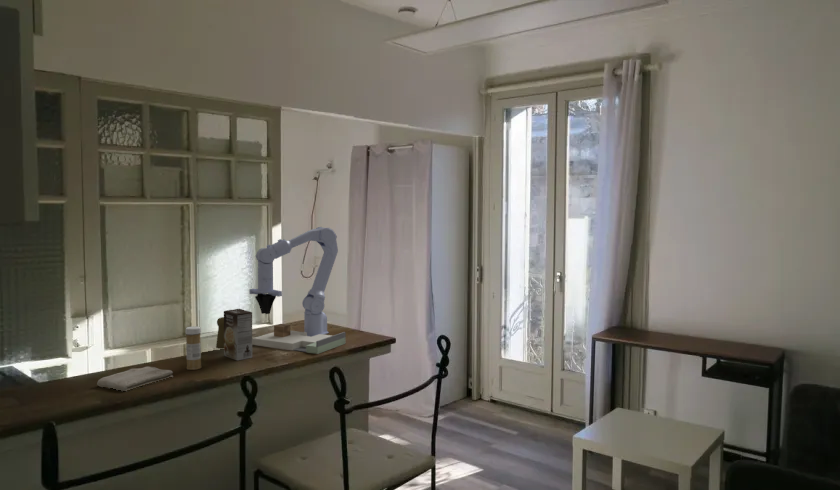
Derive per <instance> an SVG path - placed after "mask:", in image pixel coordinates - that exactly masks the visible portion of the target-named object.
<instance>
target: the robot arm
mask: <svg viewBox="0 0 840 490" xmlns="http://www.w3.org/2000/svg"><path fill="white" fill-rule="evenodd" d="M337 238H338V236H337V234H336V233H335V231H334V229H332V228H330V227H322V226H319V227H316V228H312V229H310V230H307V231H305V232H303V233H302V234H299V235H297V236H296V237H293V238H291V239H289V240H288V239H287V240H286V239H285V238H283V239H281V238H280V239H279V238H278V239H277V242H274V243H273V244H267V245H266V247H261V248H259V249H258V250H257V251H256V253H255V259H256V260H257V288H249V290H248V291H249V295H256V296H254V298H255V300H256V301H257V303H258V305H259V308H260V313H261V314H263V315H268V314H269V315H270V314H271V309H272V306H273V303H274V301H275V300H276V298H279V297H283V291H282V290H276V289H274V267H273V266H274V265H273V263H274V261H275V259H278V258H280V257H283V256H285V255H288V254H290V253H291V252H292V249H293V248H295V247H298V246H301V245H303V244H305V243H308V242H312V241H313V242H316V243H318V245H320V247H321V250H323V254H322V257H321V259H320V262H319V266H318V269H317V272H316V275H315V278H314V280H313V284H312V286H311V288H310V289H309V290H308V292H307V294H306V296H305V297H304V298H303V300H302V307H303V309H304V312H303V313H304V315H303V316H304V317H303V319H304V320H303V321H304V324H303V325H304V329H303V330H304V331H303V332H307V336H310V337H312V336H315V335H318V334H323V335H328V334H329V333H330V332H329V331H328V316H327V314H326V313H325V312H324V311H323V310H324V309H325V298H326V296H325V295H326V294H325V290H326V288H327V284H328V282H329V278H330V276H331V273H332V270H333V267H334V264H335V261H336V258H337V255H338V253H339V249H338V243H337Z"/></svg>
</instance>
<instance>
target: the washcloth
mask: <svg viewBox="0 0 840 490" xmlns="http://www.w3.org/2000/svg"><path fill="white" fill-rule="evenodd" d="M173 373H174V372H173V371H172V370H171V369H160V368H157V367H155V366H144V367H138V368H129V369H128V370H125V371H121V372H118V373H114V374H111V375H108V376H103V377H102V378H100V379H98V381H97V383H96V385H97V386H99V387H100V388H103V387H108V388H107V389H110V388H113V389H116V390H115V391H118V390H121V391H120V392H123V391H126V392H128V391H127V390H130V389H133V388H136V387H139V386H142V385H145V384H149V383H152V382H155V383H157V382H156V381H158V382H160V381H159V380H162V381H164V380H163V379H165V380H167V379H166V378H169V377H172V378H174V375H173ZM169 379H170V378H169ZM152 384H153V383H152ZM149 385H150V384H149ZM139 388H140V387H139ZM113 389H112V390H113ZM136 389H137V388H136ZM133 390H134V389H133ZM130 391H131V390H130Z"/></svg>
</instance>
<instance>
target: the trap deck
mask: <svg viewBox="0 0 840 490" xmlns="http://www.w3.org/2000/svg"><path fill="white" fill-rule="evenodd" d="M346 332H347V331H346ZM346 332H345V331H343V332H340V333H337V334H334V335H332V334H331V335H330V334H324V335H323V334H318V335H315V336H312V337H310V336H307V332H304V331H298V330H297V331H296V330H290V335H289V336H286V337H277V336H274V331H273V332H269V333H265V334H263V335H259V336H256V337H252V346H259V347H265V348H272V349H280V350H287V351H293V352H303V353H308V354H316V355H319V354H322V353H324V352H326V351H330V350H332V349H334V348H338V347H341V346H343V345H345V344H346V342H347V341H346V336H347V335H346Z"/></svg>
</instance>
